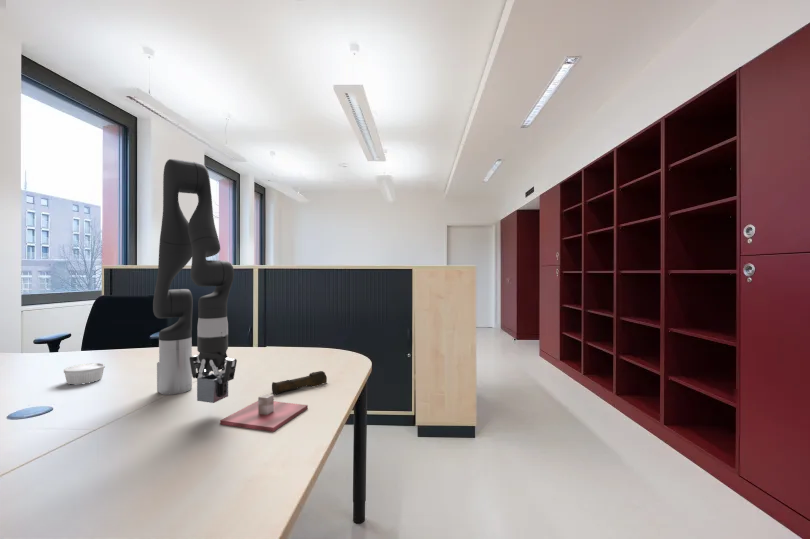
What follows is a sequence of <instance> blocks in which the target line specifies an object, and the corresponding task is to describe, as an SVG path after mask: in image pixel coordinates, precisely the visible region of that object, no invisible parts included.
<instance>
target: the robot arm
mask: <svg viewBox="0 0 810 539" xmlns="http://www.w3.org/2000/svg"><path fill="white" fill-rule="evenodd" d="M162 176H163V180H162V190H163V191H162V197H163V198H162V218H161V226H160V227H161V228H160V236H159V243H158V245H159V247H158V266H157V267H158V268H157V276H156V282H155V286H154V294H153V299H152V300H153V301H152V312H153V315H154V316H155V317H156V318H157V319H173V318H178V320H177V321H176V322H174V324H172V325H170V326H168V327H165V328H162V329H161V330H159V332H158V356H159V357H158V358H159V359H158V362H156V392H158V393H159V394H160V395H166V396H168V395H170V396H171V395H178V394H182V393H186V392H188V391H190V390H192V388H193V379H196V380H197V379H198V378H200V377H203V376H206V375H209V374H211V372H212V373H214V375H215V376H216V377H217V379H218V382H219V384H218V397H223V396H225V395H226V393H227V382H228V383H229V382H230V381H233V380H234V379H235V378H234V377H235V373H236V367H237V361H238V360H237V359H236V358H229V357H228V354H227V352H228V350H229V349H228V348H229V322H228V301H229V300H228V299H229V296H230V291H231V289H232V286H233V282H234V278H235V270H234V267H233V265H232V263H230V261H228V260H218V259H217V260H214V259H213V260H208V259H207V258H210V257H213V256H216V255H217V254H219V253H220V251H221V244H220V240H219V236H218V232H217V228H216V224H215V220H214V219H215V218H214V211H213V210H214V209H213V208H214V207H213V200H212V199H213V198H212V189H211V178H210V174H209V171H208V169H207V167H206V165H204V163H202V162H201V163H200V162H196V161H189V160H188V161H187V160H183V159H182V160H181V159H175V158H174V159H173V158H170V159H167V161H166V162H165V163H164V169H163V174H162ZM179 193H181V194H194V195H197V200H198V201H197V206H196V208H195V209H194V212H193V213H192V214H191V216H190V218H189V221H188V220H187V218H186V216H185V215H184V213H183V211H182V209H181V207H180V203H179V202H180V201H179ZM190 261H191V267H190V279H191V281H192V282H193V283H194V285H196V286H197V287H202V288H203V287H204V288H205V287H206V288H207V287H215V288H214V290H213V291H212V293H209V294H206V295H202V296H200V297H199V298H198V311H197V312H198V313H197V314H198V320H197V331H196V333H197V335H196V336H197V337H196V338H197V341H196V342H197V343H196V344H197V345H196V346H197V350H196V351H197V352H198V354H195V355H193V351H192V350H193V344H192V339H193V338H192V331H193V309H194V308H193V307H194V305H193V304H194V302H193V299H194V297H193V293H192V292H191V290H190V289H188V288H180V289H179V288H177V289H170V287H171V285H172V283H173V280H174V279H175V277H176V276H178V274H179V273H180V272H181V271H182V270H183V269H184V268H185V267H186V266H187V264H188V263H189V262H190ZM221 374H222V376H223V378H222V376H221Z"/></svg>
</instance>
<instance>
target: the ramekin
mask: <svg viewBox="0 0 810 539" xmlns="http://www.w3.org/2000/svg"><path fill="white" fill-rule="evenodd" d="M105 367H106V365H105V364H104V363H100V362H95V363H94V362H92V363H83V364H77V365H76V364H75V365H73V366H72V365H71V366H68V367H66V368H64V369H63V374H64V376H65V381H66V383H67V384H68V385H69V384H82V383H89V382H93V381H97V380H99V379H100V380H102V378H103V375H104V370H105ZM100 380H99V381H100ZM97 382H98V381H97ZM89 384H90V383H89Z"/></svg>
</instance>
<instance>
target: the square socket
mask: <svg viewBox="0 0 810 539" xmlns="http://www.w3.org/2000/svg"><path fill="white" fill-rule="evenodd" d="M221 376H222V374H221ZM222 378H223V376H222ZM218 384H219V382H218V379H217V377H216V376H215V375H214V372H212V373H211V372H210V373H209V375H206V376H203V377H200V378H198V379H197V378H196V393H197V394H196V401H197V402H204V403H210V404H214V403H217V402H219V401H221V400H223V399H226V398H228V397H229V381H228V382H227V393H226V395H225V396H223V397H218Z"/></svg>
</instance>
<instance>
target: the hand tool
mask: <svg viewBox="0 0 810 539" xmlns="http://www.w3.org/2000/svg"><path fill="white" fill-rule="evenodd" d="M327 378H328V377H327V375H326V372H324V371H323V370H318V371H314V372H310V373H309V374H308V375H306V376H301V377H298V378H293V379H286V380H281V381H278V382H274V381H272V383H271V392H272V394H273V395H275V394H276V395H277V394H282V393H284V392H288V391H291V390H296V389H301V388H305V387H312V386H313V387H317V385H318V386H320V385H323V384H326V383H327V381H328V379H327Z"/></svg>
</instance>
